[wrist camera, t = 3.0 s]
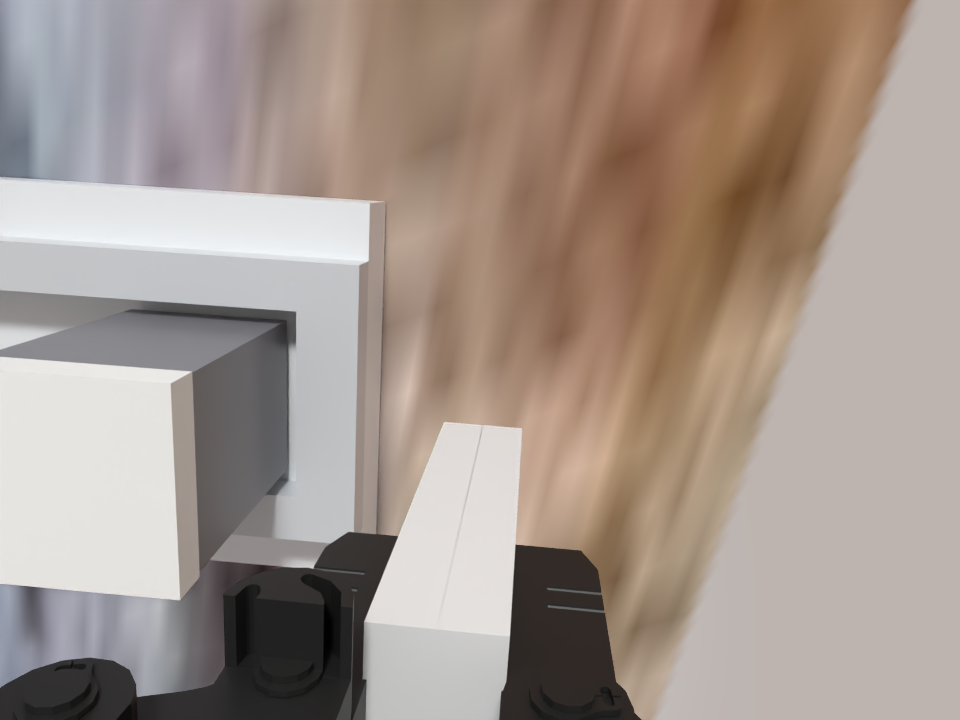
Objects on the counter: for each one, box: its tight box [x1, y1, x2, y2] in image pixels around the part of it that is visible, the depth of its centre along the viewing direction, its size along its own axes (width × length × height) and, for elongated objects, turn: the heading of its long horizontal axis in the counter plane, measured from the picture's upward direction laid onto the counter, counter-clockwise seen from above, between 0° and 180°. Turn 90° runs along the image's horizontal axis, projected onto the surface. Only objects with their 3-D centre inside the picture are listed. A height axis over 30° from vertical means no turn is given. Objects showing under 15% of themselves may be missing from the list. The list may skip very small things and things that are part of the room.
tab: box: [0, 309, 287, 600], centre depth 16 cm, size 4×4×6 cm
